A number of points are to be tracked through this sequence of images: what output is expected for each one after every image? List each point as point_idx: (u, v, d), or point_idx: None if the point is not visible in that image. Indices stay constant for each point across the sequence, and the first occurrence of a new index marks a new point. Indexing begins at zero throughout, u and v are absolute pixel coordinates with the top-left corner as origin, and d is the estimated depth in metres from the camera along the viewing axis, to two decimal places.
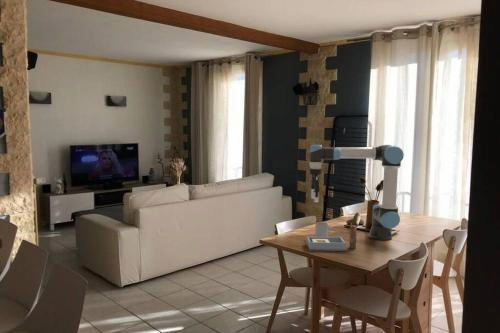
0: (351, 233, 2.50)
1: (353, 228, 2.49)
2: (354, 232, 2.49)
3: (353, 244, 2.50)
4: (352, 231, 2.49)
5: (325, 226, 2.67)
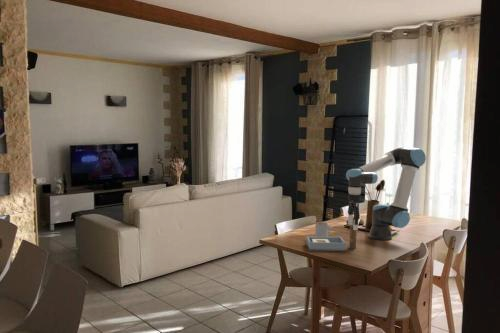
0: (351, 233, 2.50)
1: None
2: (354, 232, 2.49)
3: (353, 244, 2.50)
4: (352, 231, 2.49)
5: (325, 226, 2.67)
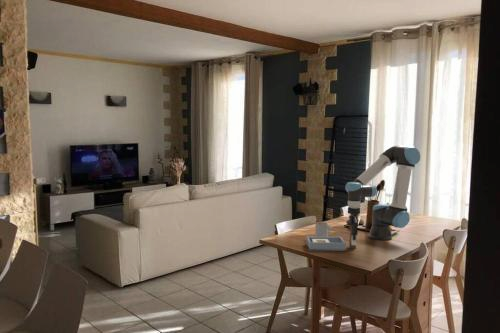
0: (351, 233, 2.50)
1: None
2: None
3: None
4: None
5: (325, 226, 2.67)
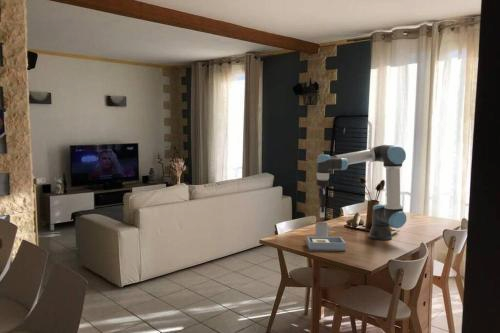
0: (320, 205, 2.48)
1: None
2: None
3: None
4: None
5: (325, 226, 2.67)
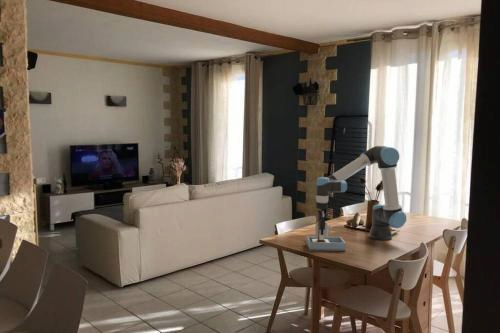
0: (319, 228, 2.50)
1: None
2: None
3: None
4: None
5: (325, 226, 2.67)
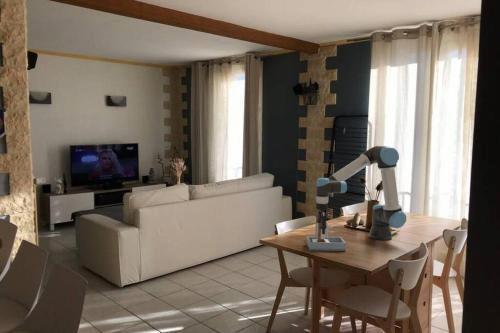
0: (319, 231, 2.50)
1: None
2: None
3: None
4: (320, 229, 2.49)
5: None
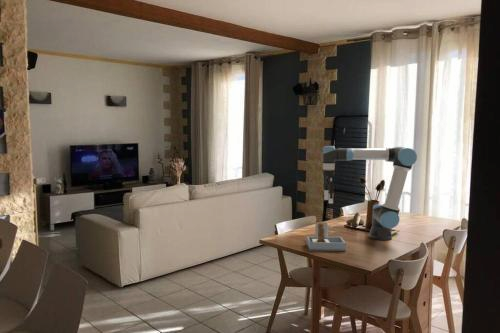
0: (319, 231, 2.50)
1: (321, 226, 2.49)
2: (322, 230, 2.49)
3: None
4: (320, 229, 2.49)
5: (325, 226, 2.67)
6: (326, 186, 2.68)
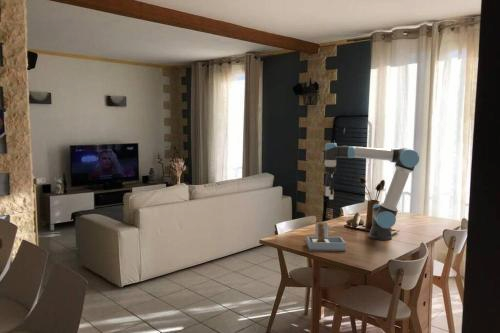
0: (319, 231, 2.50)
1: (321, 226, 2.49)
2: (322, 230, 2.49)
3: None
4: (320, 229, 2.49)
5: (325, 226, 2.67)
6: (327, 182, 2.73)
